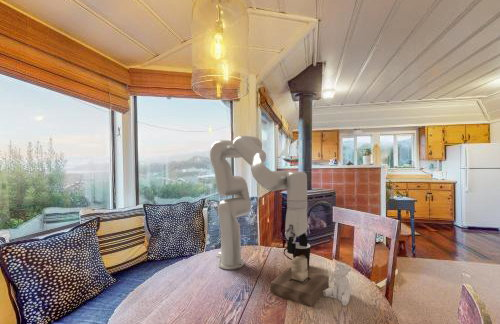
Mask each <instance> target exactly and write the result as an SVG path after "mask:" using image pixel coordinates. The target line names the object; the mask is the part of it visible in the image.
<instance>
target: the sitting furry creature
mask: <svg viewBox="0 0 500 324" xmlns="http://www.w3.org/2000/svg"><path fill="white" fill-rule="evenodd" d="M334 270H335V271H334V272H335V275H334V277H333V280H332V282H333V286H332V287H329V288H327V289H325V290H323V295H322V296H324V297H325V298H328V297H330V298H332V299H337V300H338V301H339V302H341V304H342V307H347V306H348V305H349V303H350V298H351V295H352V294H351V293H352V289H351V285H350V283H349V279H348V278H347V275H348V274H349V273H350V272H352V271H351V270H352V268H351V267H348V265H347V264H346V263H343V262H339V261H337V263H336V264H335V267H334Z"/></svg>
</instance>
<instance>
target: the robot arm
mask: <svg viewBox="0 0 500 324" xmlns="http://www.w3.org/2000/svg"><path fill="white" fill-rule="evenodd" d="M209 157H210V163H211V165H212V167H213V170H214V178H215V183H216V188H217V192H218V194H219V195H220V196H221V197H230V198H226V199H223V200H221V201H220V202H219V203H218V205H217V214H218V219H219V227H220V229H219V230H220V251H219V252H218V254H216V258H217V259H219V261H218V264H217V265H218V267H219V268H220V269H223V270H226V271H227V270H228V271H229V270H237V269H240V268H242V267H244V266H245V264H246V263H245V260H244V259H243V258H242V243H241V241H242V239H241V237H242V236H241V225H240V222H239V221H238V219H237V218H239V217H243V216H246V215H248V214H249V213H250V212H251V210H252V205H251V204H252V203H251V198H250V192H249V187H248V183H247V182H246V180H245V178H243V177H242V176H240V175H233V170H232V167H231V164H230V163H229V161H228V160H227V159H228V158H232V159H237V158H242V159H243V160H244V161H245V162H246V163H247V164H248V165H249V166H250V170H251V174H252V177H253V179H254V180H255V182H257V183H258V184H259V185H260V186H261V187H263V189H264V190H266V191H270V192H274V191H275V192H276V191H282V190H283V191H284V190H286V207H287V208H286V211H285V212H286V213H285V214H286V215H285V227H284V228H285V229H284V231H285V232H284V236H285V240H286V248H287V250H286V252H287V253H288V254H289V255H290V254H291V255H293V254H294V255H295V254H296V243H297V242H296V239H297V238H298V239H299V241H298V243H299V245H300V246H304V247H307V244H308V231H309V229H308V228H309V222H308V211H307V210H308V177H307V176H308V175H307V173H306V172H305V171H288V170H273V171H272V170H271V169H269V168H268V167H267V166H266V165H265V164H264V163H265V161H266V158H267V154H266V152H265V150H263V143H262V141H261V139H260V138H258V137H256V136H253V135H252V136H251V135H239V136H237V137H236V138H235V139H234V140H226V139H225V140H224V139H221V140H217V141H215V142H213V143H212V144H211V147H210V151H209ZM231 196H234V197H231Z"/></svg>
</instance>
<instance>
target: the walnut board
mask: <svg viewBox="0 0 500 324" xmlns="http://www.w3.org/2000/svg"><path fill="white" fill-rule="evenodd" d="M329 278H330V277H329V276H327V275H324V274H321V273H320V274H319V273H316V272H311V271H308V282H307V283H306V284H305V285H302V284H299V283H295V282H292V267H291V266H290V267H289V268H288V269H287V270H285V271H283V273H281V274H279V276H277V277H276V278H274V279H273V280H272V281H270V294H272V295H276V296H278V297H281V298H285V299H286V300H290V301H293V302H295V303H299V304H302V305H305V306H307V307H310V308H312V307H313V306H314V305H316V303H317V302H318V300H319V299H320V298H321V297H323V296H324V295H323V290H325V289H327V288H330V286H329V283H330V282H329V281H330V280H329Z"/></svg>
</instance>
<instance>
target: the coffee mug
mask: <svg viewBox="0 0 500 324" xmlns="http://www.w3.org/2000/svg"><path fill="white" fill-rule="evenodd" d="M295 243H296V254H295V255H294V254H292V258H291V257H289V256H288V255H287V254H286V253H285V252H286V251H287V247H286V248H284V249H283V255H284V256H285V257H286V258H287V259H289V260H290V261H291V260H292V259H293V258H295V257H296V256H297V257H302V258H306V259H307V269H308V270H309V268H310V259H311V258H310V256H311V245H310V243H307V247H304V246H300V245H299V242H295Z"/></svg>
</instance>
